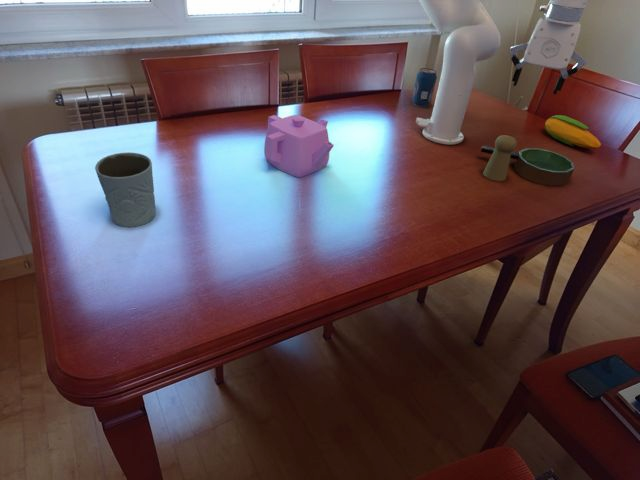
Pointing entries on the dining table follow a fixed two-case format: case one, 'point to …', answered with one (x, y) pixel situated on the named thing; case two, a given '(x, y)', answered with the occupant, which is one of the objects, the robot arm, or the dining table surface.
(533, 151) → the pan
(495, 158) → the cork
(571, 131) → the corn
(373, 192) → the dining table surface
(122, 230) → the dining table surface
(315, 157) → the teakettle
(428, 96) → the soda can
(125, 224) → the gray embossed cup
